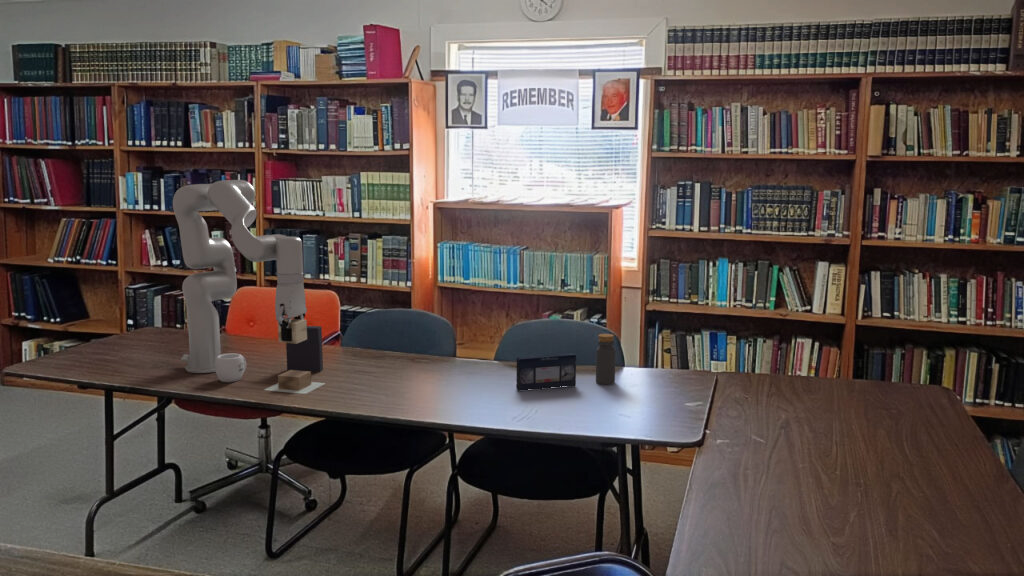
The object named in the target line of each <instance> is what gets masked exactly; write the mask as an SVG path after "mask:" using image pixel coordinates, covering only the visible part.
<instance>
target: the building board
mask: <svg viewBox="0 0 1024 576" xmlns="http://www.w3.org/2000/svg"><path fill="white" fill-rule="evenodd" d="M325 384H326V382H318V381H317V382H316V381H311V385H309V386H307V387H305V388H303V389H301V390H300V391H299V390H288V389H279V388H278V382H277V383H276V384H273V385H271V386H269V387H267V388H265V389H263V391H271V392H281V393H282V392H283V393H290V394H302V395H303V394H304V395H306V394H309V393H310V392H312V391H314V390H316V389H318V388H320V387H322V386H324V385H325Z"/></svg>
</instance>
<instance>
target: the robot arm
mask: <svg viewBox="0 0 1024 576" xmlns="http://www.w3.org/2000/svg"><path fill="white" fill-rule="evenodd" d="M255 199H256V191H255V189H254V186H253V185H252V184H251V183H250V182H249V181H247V180H243V179H227V180H225V179H223V180H218V181H215V182H213V183H199V184H198V183H196V184H187V185H183V186H182V187H180V188H178V189H177V190H176V192H175V193H174V195H173V199H172V208H173V213H174V215H175V219H176V221H177V224H178V229H179V237H180V242H181V244H180V245H181V250H182V257H183V261H184V264H185V265H186V267H188V268H189V269H192V270H195V269H196V270H200V269H207V268H213V270H212V271H211V270H210V271H204V272H197V273H193V274H191V275H188V276H187V277H186V278H185V279H184V280H183V282H182V286H181V289H182V294H183V297H184V302H185V305H186V306H185V308H186V315H187V317H186V318H187V328H188V329H187V330H188V332H187V333H188V345H189V346H188V347H189V354H182V357H181V358H180V361H181V362H186V363H187V364H186V366H185V371H186V372H188V373H192V374H210V373H216V370H215V359H216V357H217V356H219V355H222V353H221V352H222V350H221V334H220V333H221V332H220V316H219V312H218V310H217V309H216V307H215V306H214V303H213V302H215V301H220V300H224V299H225V300H226V299H229V298H232V297H233V296H234V295H235V293H236V292H237V289H238V284H237V283H238V282H237V281H238V280H237V273H236V266H235V265H236V264H235V256H234V252H233V251H234V250H233V248H232V246H231V244H230V242H229V241H228V240H226V239H225V238H223V237H221V236H220V237H217V236H215V237H210V236H209V235H210V234H209V228H208V224H207V222H206V220H205V219H204V217H203V216H202V215H201V214H200V213H199V212H209V211H210V212H211V211H218V212H219V213H220V214H222V216H224V218H225V220H227V221H228V222H229V223H230V225H231V229H230V233H231V240H232V242H233V244H234V247H236V250H238V251H239V252H240V254H242V256H243V257H244V258H246V259H247V260H248V261H250V262H254V263H260V262H268V261H276V279H277V280H276V281H277V285H276V289H275V299H274V300H275V304H274V311H275V314H274V315H275V319H276V321H277V324H278V323H279V325H280V328H281V340H282V341H292V328H290V324H291V319H302V320H305V318H306V314H307V311H308V307H306V306H307V305H306V304H307V302H306V292H305V287H304V286H305V285H304V284H305V283H304V262H303V261H304V257H303V241H302V239H301V238H300V237H299V236H288V235H284V234H279V233H278V234H276V233H275V234H265V235H264V234H263V235H256V236H255V235H253V234H252V232H251V231H249V229H248V228H249V227H250V226H251V225H252V224H253V223H254V222H255V220H256V218H257V210H256V207H254V206H253V205H252V204H253V203H254V202H255ZM285 320H287V322H286V321H285Z"/></svg>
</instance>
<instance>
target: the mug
mask: <svg viewBox="0 0 1024 576" xmlns="http://www.w3.org/2000/svg"><path fill="white" fill-rule="evenodd" d="M246 368H247V361H246V358H245V357H244V356H243V355H242V354H240V353H232V352H231V353H223V354H222V353H221V355H219V356H217V357H216V359H215V370H216V372H215V373H216V376H217V379H218V380H219V381H220V382H221V383H235V382H238V381H240V380H241V378H242V376H243V375H244V373H245V372H246V370H247V369H246Z"/></svg>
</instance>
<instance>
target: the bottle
mask: <svg viewBox="0 0 1024 576" xmlns="http://www.w3.org/2000/svg"><path fill="white" fill-rule="evenodd" d="M614 338H615V337H614V334H611V333H600V334H598V340H597V345H599V346H598V347H597V348H596V352H595V353H596V354H595V355H596V356H595V357H596V358H595V363H596V364H595V383H596V384H598V385H602V386H609V385H610V386H611V385H614V384H615V382H616V381H615V380H616V348H614V345H615V341H614Z"/></svg>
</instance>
